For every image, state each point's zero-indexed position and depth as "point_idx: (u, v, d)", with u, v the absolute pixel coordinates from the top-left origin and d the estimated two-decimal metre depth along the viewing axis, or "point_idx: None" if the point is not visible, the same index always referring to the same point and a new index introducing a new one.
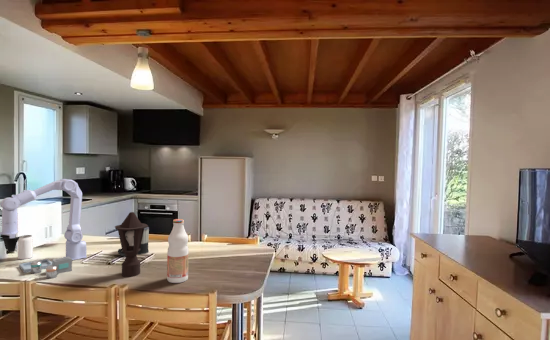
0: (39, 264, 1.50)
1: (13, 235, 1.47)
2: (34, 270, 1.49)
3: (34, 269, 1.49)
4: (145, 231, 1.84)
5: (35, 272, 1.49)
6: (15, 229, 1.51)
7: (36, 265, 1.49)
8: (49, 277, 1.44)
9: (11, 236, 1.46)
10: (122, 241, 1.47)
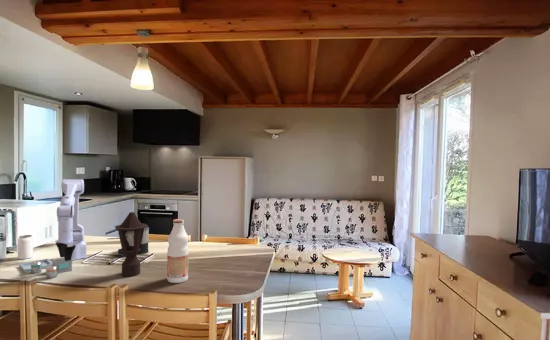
0: (39, 264, 1.50)
1: (71, 243, 1.45)
2: (34, 270, 1.49)
3: (34, 269, 1.49)
4: (145, 231, 1.84)
5: (35, 272, 1.49)
6: (71, 237, 1.49)
7: (36, 265, 1.49)
8: (49, 277, 1.44)
9: (69, 244, 1.44)
10: (122, 241, 1.47)
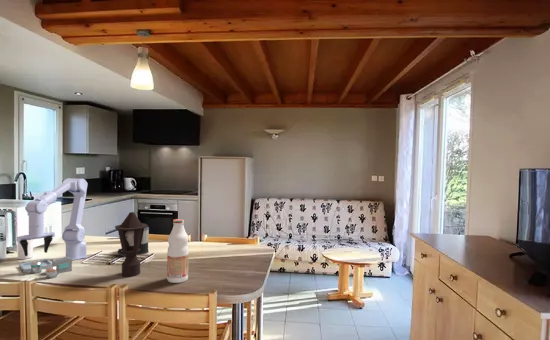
0: (39, 264, 1.50)
1: (17, 239, 1.45)
2: (34, 270, 1.49)
3: (34, 269, 1.49)
4: (145, 231, 1.84)
5: (35, 272, 1.49)
6: (31, 233, 1.48)
7: (36, 265, 1.49)
8: (49, 277, 1.44)
9: None
10: (122, 241, 1.47)
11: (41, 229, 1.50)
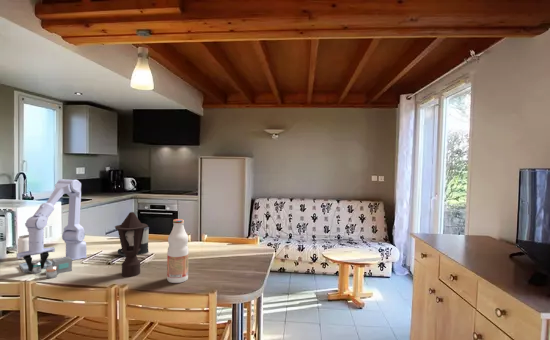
0: (39, 264, 1.50)
1: (17, 255, 1.45)
2: (34, 270, 1.49)
3: (34, 269, 1.49)
4: (145, 231, 1.84)
5: (35, 272, 1.49)
6: (31, 250, 1.48)
7: (36, 265, 1.49)
8: (49, 277, 1.44)
9: None
10: (122, 241, 1.47)
11: (41, 245, 1.50)
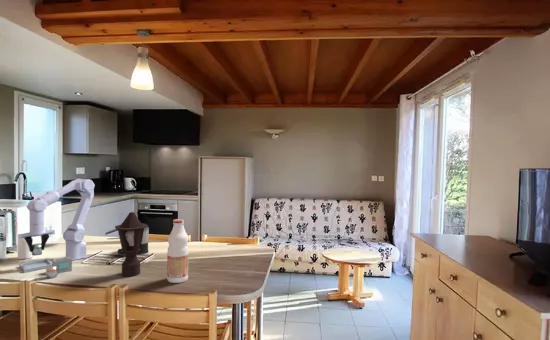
0: (40, 246, 1.56)
1: (18, 236, 1.50)
2: (35, 251, 1.54)
3: (35, 250, 1.54)
4: (145, 231, 1.84)
5: (36, 254, 1.54)
6: (32, 231, 1.53)
7: (37, 247, 1.55)
8: (49, 277, 1.44)
9: (18, 236, 1.51)
10: (122, 241, 1.47)
11: (41, 227, 1.55)
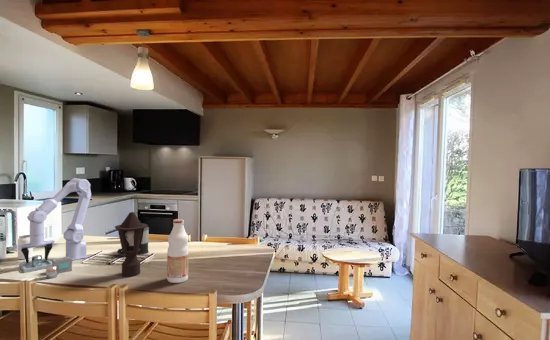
0: (39, 258, 1.58)
1: (18, 247, 1.52)
2: (34, 264, 1.56)
3: (35, 263, 1.56)
4: (145, 231, 1.84)
5: (35, 266, 1.56)
6: (32, 242, 1.55)
7: (36, 259, 1.57)
8: (49, 277, 1.44)
9: (18, 247, 1.53)
10: (122, 241, 1.47)
11: (41, 238, 1.57)
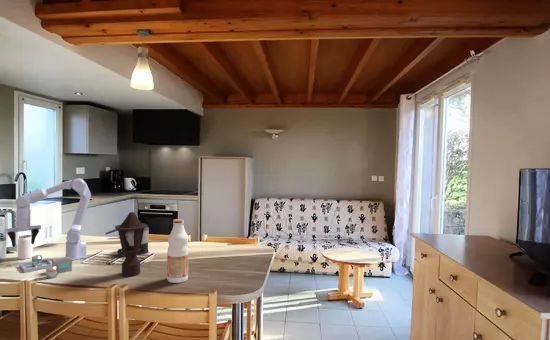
0: (39, 258, 1.57)
1: (5, 230, 1.56)
2: (34, 264, 1.56)
3: (35, 263, 1.56)
4: (145, 231, 1.84)
5: (35, 266, 1.56)
6: (18, 226, 1.58)
7: (36, 259, 1.56)
8: (49, 277, 1.44)
9: None
10: (122, 241, 1.47)
11: (27, 222, 1.61)
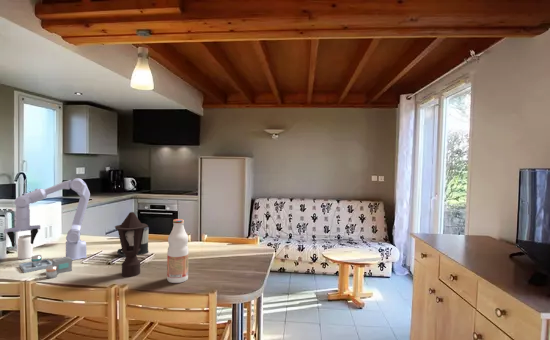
0: (39, 258, 1.57)
1: (4, 230, 1.56)
2: (35, 264, 1.56)
3: (35, 263, 1.56)
4: (145, 231, 1.84)
5: (36, 266, 1.56)
6: (18, 226, 1.59)
7: (36, 259, 1.56)
8: (49, 277, 1.44)
9: (4, 231, 1.56)
10: (122, 241, 1.47)
11: (27, 222, 1.61)
